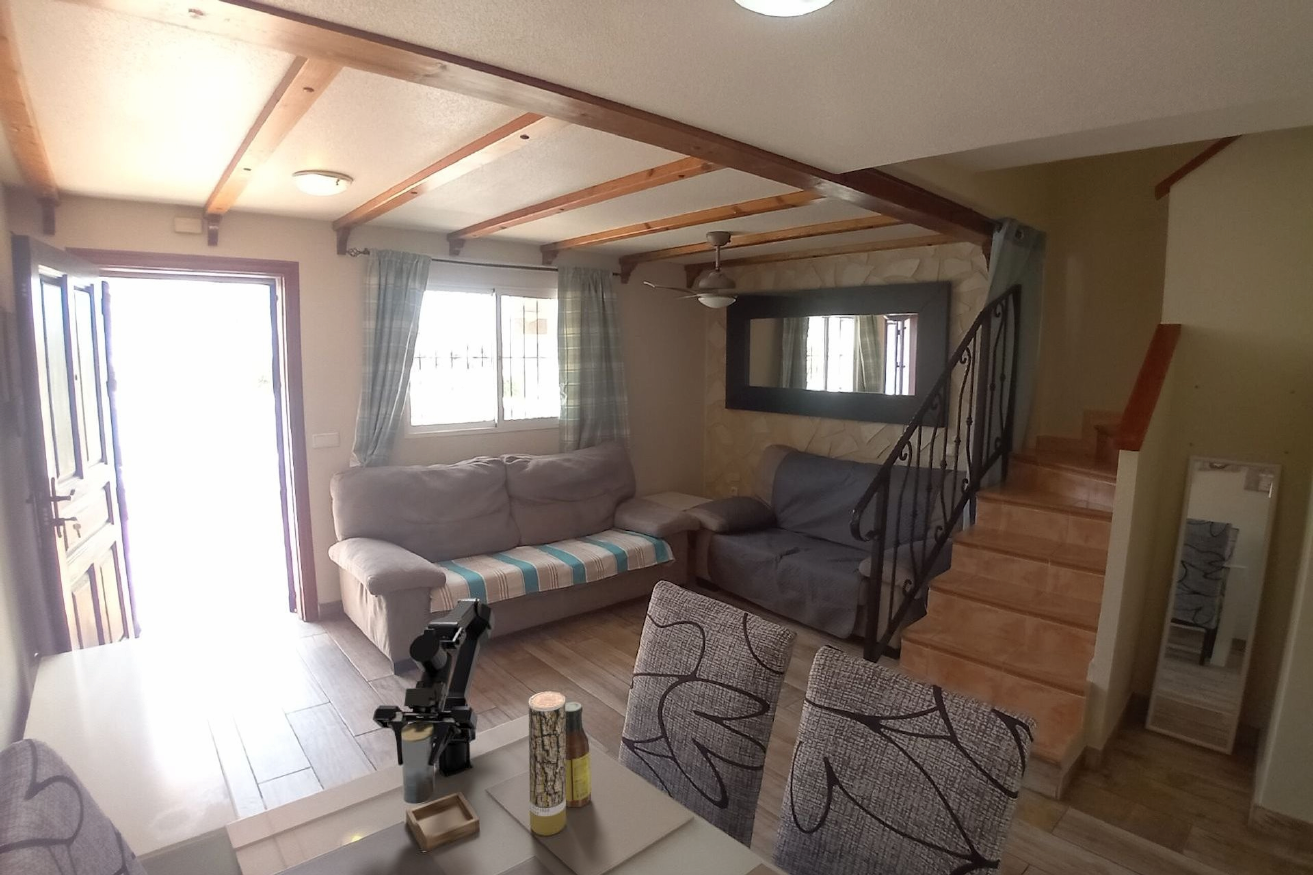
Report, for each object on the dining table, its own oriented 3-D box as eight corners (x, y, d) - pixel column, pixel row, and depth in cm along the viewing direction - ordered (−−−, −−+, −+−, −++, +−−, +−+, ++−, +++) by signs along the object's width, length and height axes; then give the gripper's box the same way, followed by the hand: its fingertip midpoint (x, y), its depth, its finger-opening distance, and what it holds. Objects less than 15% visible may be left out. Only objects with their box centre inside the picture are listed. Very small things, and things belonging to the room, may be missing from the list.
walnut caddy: (460, 801, 136) (460, 791, 135) (479, 830, 127) (479, 819, 127) (406, 821, 129) (406, 810, 129) (422, 852, 121) (422, 841, 121)
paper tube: (558, 839, 124) (558, 710, 122) (524, 834, 126) (523, 706, 124) (570, 816, 131) (570, 693, 129) (537, 811, 132) (536, 689, 130)
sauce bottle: (593, 791, 139) (593, 699, 137) (587, 810, 133) (587, 714, 131) (562, 789, 140) (562, 697, 138) (555, 808, 134) (554, 712, 132)
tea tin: (421, 781, 131) (419, 718, 129) (441, 791, 128) (439, 725, 127) (396, 797, 126) (394, 731, 125) (417, 807, 123) (415, 739, 122)
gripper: (375, 665, 129) (350, 752, 119) (472, 666, 128) (455, 754, 119) (393, 686, 137) (371, 768, 127) (483, 687, 137) (469, 770, 127)
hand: (415, 765), depth 125 cm, fingers closed on tea tin, 6 cm apart
